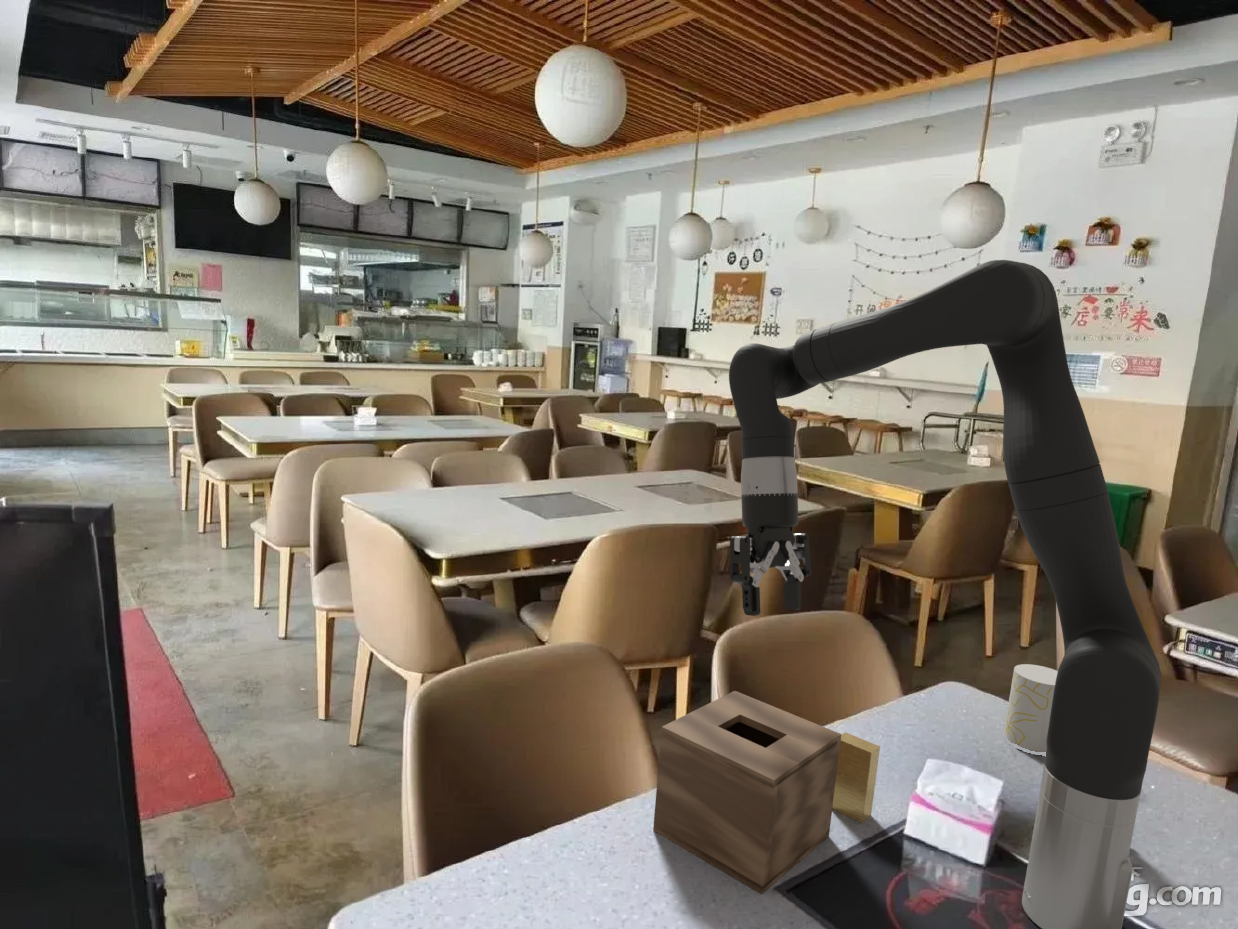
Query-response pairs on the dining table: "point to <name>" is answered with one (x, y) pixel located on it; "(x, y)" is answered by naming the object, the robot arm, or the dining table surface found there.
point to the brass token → (855, 777)
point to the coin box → (746, 787)
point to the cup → (1030, 706)
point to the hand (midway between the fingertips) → (773, 612)
